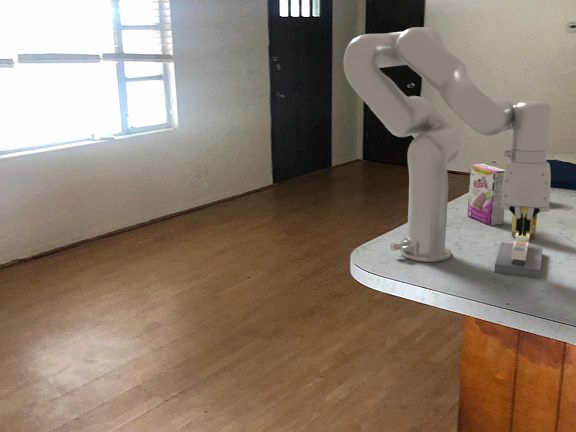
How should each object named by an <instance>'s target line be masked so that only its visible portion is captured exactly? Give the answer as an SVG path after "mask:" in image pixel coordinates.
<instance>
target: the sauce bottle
mask: <svg viewBox="0 0 576 432" xmlns="http://www.w3.org/2000/svg"><path fill="white" fill-rule="evenodd" d="M521 211H522V214H523V217H525V215H526V214H527V212H528V208H527V207H521ZM537 217H538V214H536V215H535V216H534V217H532V219H531V221H530V232H526V234H530V235H529V240H533V239H534V238H535V235H536V232H537V220H538V218H537ZM511 219H512V220H511V231H512V232H511V237H512V238H514V239H515V235H516V233H519V231H516V222H517V218H516V217H515V215H514V214H513V213H512V218H511ZM523 223H524V220H523ZM522 233H523V232H522Z"/></svg>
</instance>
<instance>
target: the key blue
mask: <svg viewBox="0 0 576 432" xmlns="http://www.w3.org/2000/svg"><path fill="white" fill-rule="evenodd" d="M526 254H527V248H523V247H513V248H512V254H511V259H514V263H513V264H514V265H523V260H526Z"/></svg>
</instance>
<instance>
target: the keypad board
mask: <svg viewBox="0 0 576 432" xmlns="http://www.w3.org/2000/svg"><path fill="white" fill-rule="evenodd" d="M513 244H514V242H513V243H510V242H502V241H501V242H500V247H499V249H498V253H497V256H496V259H495V262H494V269H493V270H494V273H497V274H499V273H500V274H505V275H506V274H507V275H514V276H522V277H530V278H540V277H541V269H542V259H543V248H544V247H543V246H542V245H541V246H537V245H532V244H531V245H530V244H528V251H527V255H526V260H523V265H514V264H513V263H514V259H511V254H512V248H513Z"/></svg>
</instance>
